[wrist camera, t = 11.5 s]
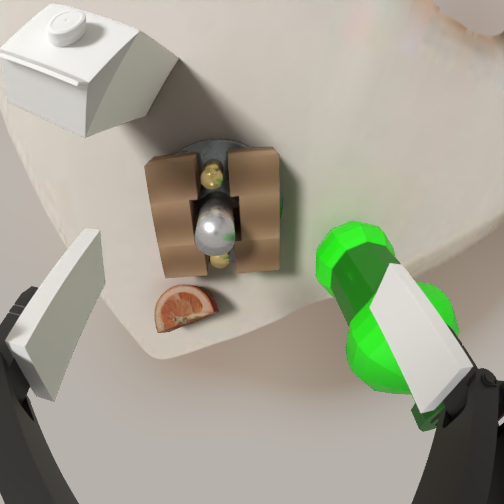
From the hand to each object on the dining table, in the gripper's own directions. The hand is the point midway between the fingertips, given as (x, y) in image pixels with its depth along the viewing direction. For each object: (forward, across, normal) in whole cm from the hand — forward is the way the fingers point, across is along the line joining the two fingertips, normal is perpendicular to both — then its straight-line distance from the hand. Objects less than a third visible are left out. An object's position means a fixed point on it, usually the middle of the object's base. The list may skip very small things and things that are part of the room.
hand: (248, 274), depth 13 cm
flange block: (+19, -1, -5) cm, 20 cm away
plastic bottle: (+21, +15, -9) cm, 27 cm away
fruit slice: (+21, -4, -19) cm, 28 cm away
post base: (+21, -2, -5) cm, 22 cm away
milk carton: (+21, -12, +8) cm, 26 cm away
